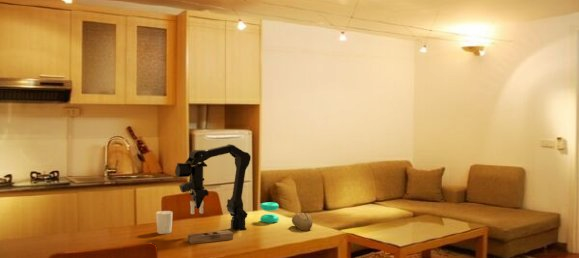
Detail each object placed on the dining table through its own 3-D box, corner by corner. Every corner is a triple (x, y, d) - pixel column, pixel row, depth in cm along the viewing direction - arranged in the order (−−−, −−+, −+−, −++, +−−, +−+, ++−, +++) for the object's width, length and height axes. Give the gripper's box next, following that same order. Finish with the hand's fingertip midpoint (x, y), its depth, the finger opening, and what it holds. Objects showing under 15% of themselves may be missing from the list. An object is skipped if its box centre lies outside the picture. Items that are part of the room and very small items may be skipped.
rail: (187, 240, 235) (187, 234, 235) (228, 236, 244) (228, 230, 244) (191, 243, 229) (191, 237, 229) (233, 239, 238) (233, 232, 238)
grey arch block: (190, 213, 246) (190, 201, 246) (202, 212, 249) (202, 200, 249) (191, 214, 244) (191, 201, 244) (203, 213, 247) (203, 201, 246)
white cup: (168, 234, 246) (168, 214, 246) (153, 233, 248) (153, 213, 247) (175, 231, 254) (175, 211, 253) (160, 230, 255) (160, 210, 255)
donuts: (279, 205, 274) (261, 205, 273) (279, 223, 274) (260, 223, 273) (277, 201, 284) (260, 201, 283) (277, 219, 284) (259, 219, 283)
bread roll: (304, 224, 272) (304, 209, 272) (316, 230, 258) (317, 215, 258) (288, 225, 268) (288, 210, 268) (299, 232, 255) (299, 216, 254)
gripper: (176, 174, 251) (175, 206, 251) (185, 179, 234) (185, 212, 234) (198, 173, 256) (197, 204, 256) (209, 178, 239) (208, 211, 239)
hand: (197, 208), depth 246 cm, fingers closed on grey arch block, 2 cm apart
